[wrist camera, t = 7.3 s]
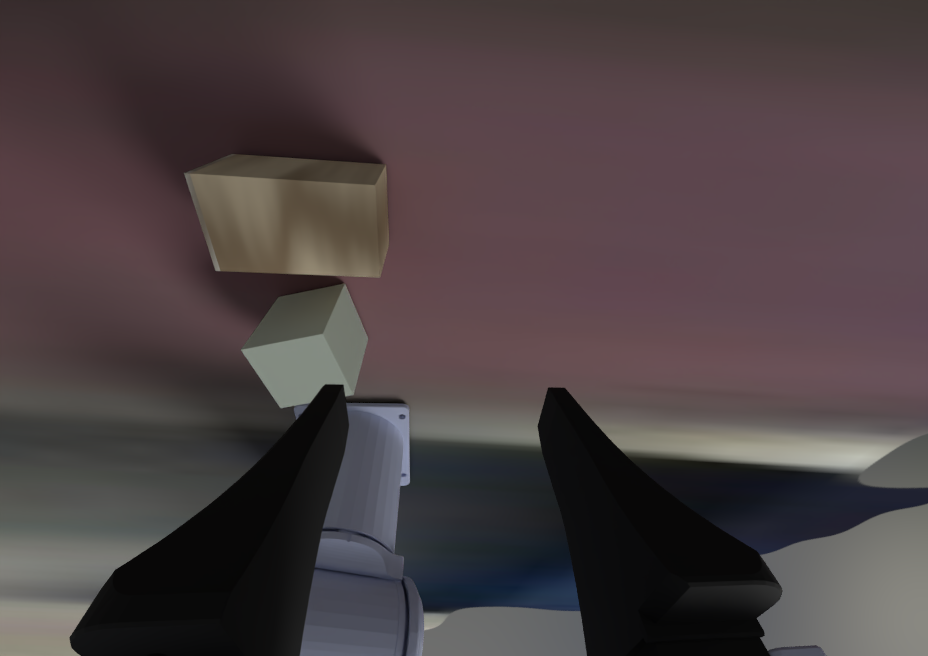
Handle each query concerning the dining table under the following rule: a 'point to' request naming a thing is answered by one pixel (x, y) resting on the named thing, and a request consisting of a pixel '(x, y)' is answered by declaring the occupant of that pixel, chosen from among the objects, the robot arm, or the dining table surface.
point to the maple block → (293, 215)
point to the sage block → (308, 345)
